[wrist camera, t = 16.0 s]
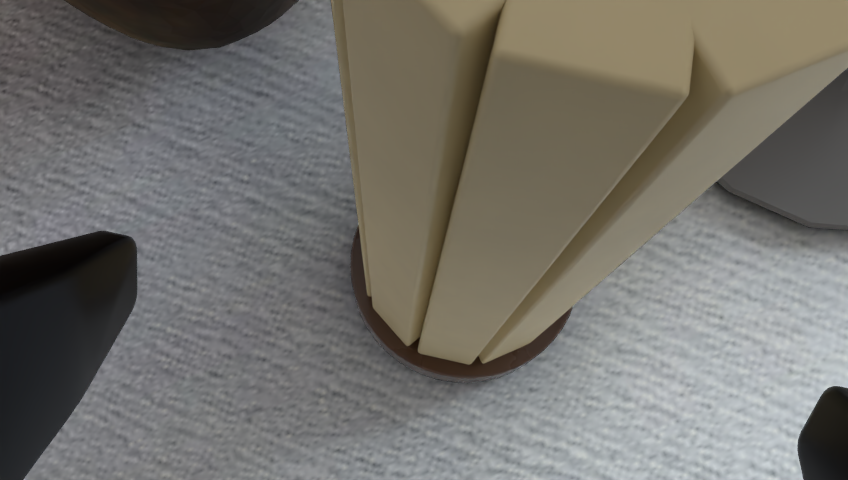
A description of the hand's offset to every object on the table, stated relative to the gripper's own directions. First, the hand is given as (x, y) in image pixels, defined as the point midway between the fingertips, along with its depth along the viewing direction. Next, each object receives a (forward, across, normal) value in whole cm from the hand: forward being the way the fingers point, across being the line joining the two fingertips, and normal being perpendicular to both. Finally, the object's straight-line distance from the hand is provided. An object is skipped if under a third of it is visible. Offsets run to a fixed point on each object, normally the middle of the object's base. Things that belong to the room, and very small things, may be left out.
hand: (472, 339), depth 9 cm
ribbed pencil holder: (+8, 0, +3) cm, 8 cm away
